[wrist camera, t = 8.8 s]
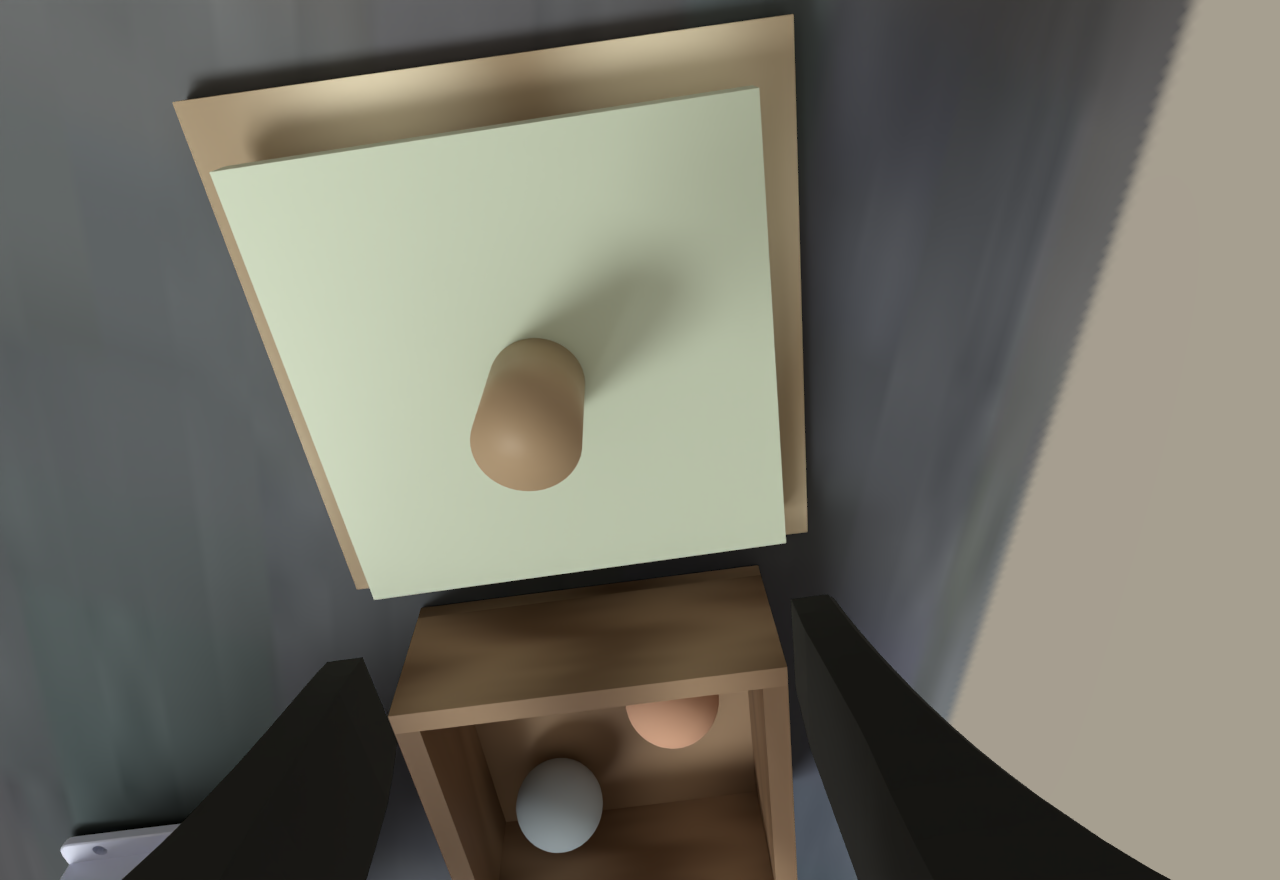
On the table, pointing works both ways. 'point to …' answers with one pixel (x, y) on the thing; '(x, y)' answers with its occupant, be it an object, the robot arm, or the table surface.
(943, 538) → the table surface
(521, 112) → the board
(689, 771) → the box
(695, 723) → the ball
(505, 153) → the lid
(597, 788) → the ball
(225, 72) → the table surface
